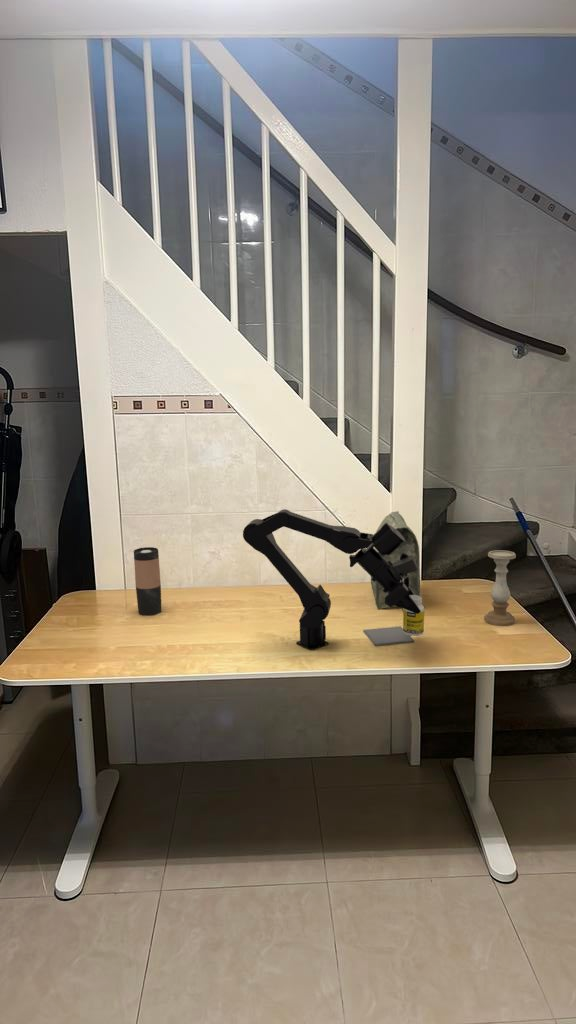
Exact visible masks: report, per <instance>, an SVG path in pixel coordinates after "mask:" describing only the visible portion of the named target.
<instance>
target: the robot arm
mask: <svg viewBox="0 0 576 1024" xmlns="http://www.w3.org/2000/svg"><path fill="white" fill-rule="evenodd" d="M281 528H286V529H290V530H293V531H296V532H299V533H301V534H305V535H307V536H310V537H313V538H317V539H319V540H323V541H325V542H327V543H329V545H331V546H332V547H333V548H335V549H337V550H338V551H341V552H342V553H345V554H347V555H348V554H349V556H348V558H349V567H350V568H353V567H354V566H355V565H356V564H358V565H359V566H360V567H361V568H362V569H363V570H364V571H365V572H366V573H367V574H368V575H369V576H370V578H371V577H372V580H373V581H374V582H375V581H376V582H377V583H378V584H379V585H380V586H381V587H382V588H383V591H384V592H385V603H386V604H387V605H388V606H389V607H388V608H393V607H392V606H394V605H395V606H394V607H398V608H401V609H406V610H409V611H411V612H414V613H417V614H418V613H420V612H421V610H420V609H419V608H418V606H417V605H416V603H415V602H414V601H413V599H412V598H411V596H410V595H414V593H413V591H412V590H411V588H410V586H409V576H408V577H407V578H406V579H405V580H404V579H403V578H402V577H403V576H404V575H405V576H407V575H408V573H410V572H414V571H416V570H418V568H417V567H418V566H417V564H416V561H415V559H414V557H413V555H410V556H409V555H408V554H407V553H405V552H404V553H402V554H400V560H397V562H395V563H392V562H391V561H390V560H389V561H388V560H387V561H386V560H385V559H384V558H383V557H382V556H381V555H380V554H379V553H378V552H377V551H376V550H375V549H374V548H373V547H375V548H376V549H377V550H378V551H379V552H380V553H381V554H382V555H386V554H387V555H390V554H391V553H392V552H393V551H395V550H396V549H397V548H398V547H399V546H400V545H401V544H402V543H403V542H404V541H405V539H404V537H403V536H402V535H401V534H400V532H399V531H398V530H397V529H394V528H393V527H392V526H391V525H389V524H388V523H387V522H385V523H384V524H383V525H382V527H381V528H380V529H379V530H378V531H377V530H376V531H377V532H376V531H375V533H373V534H372V533H368V532H360V530H359V529H357V528H355V527H350V526H346V525H345V526H344V525H332V524H328V523H324V522H321V521H319V520H317V519H314V518H310V517H306V516H304V515H301V514H298V513H295V512H292V511H290V510H289V509H285V508H284V509H281V510H279V511H278V512H276V513H273V514H271V515H268V516H266V517H264V518H263V519H262V518H261V519H260V518H255V519H253V520H251V521H250V522H249V523H247V525H246V526H245V527H244V528H243V530H242V538H243V540H244V541H245V543H247V544H248V545H249V546H250V547H252V549H254V550H255V551H257V552H259V553H261V554H262V555H264V556H265V557H266V558H267V560H268V561H269V562H270V564H271V565H272V566H273V567H274V568H275V569H276V571H278V573H279V574H280V575H281V577H282V578H283V579H284V580H285V581H286V582H287V583H288V585H289V586H290V587H291V588H292V589H293V591H294V592H295V593H296V594H297V596H298V597H299V599H300V602H301V605H302V608H303V610H302V613H301V615H300V618H299V621H298V622H299V640H298V641H296V644H297V645H299V646H301V647H302V648H305V649H307V650H310V651H311V650H313V651H314V650H316V649H319V648H322V647H324V646H327V645H330V643H329V641H326V639H327V636H326V635H327V634H326V625H325V619H327V617H328V615H329V614H330V610H331V607H332V602H331V598H330V593H327V592H326V591H325V589H324V587H323V586H322V584H318V585H317V587H316V586H315V585H313V584H311V583H310V581H308V579H307V578H306V577H305V576H304V575H303V573H302V572H301V571H300V570H299V568H298V567H297V566H296V565H295V564H294V563H293V561H292V560H291V559H290V558H289V557H288V555H287V554H286V553H285V551H283V549H282V548H281V547H280V546H279V545H278V543H277V541H276V538H275V535H274V532H276V531H277V530H279V529H281ZM388 590H389V591H388ZM387 591H388V592H387Z"/></svg>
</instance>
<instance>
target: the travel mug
mask: <svg viewBox="0 0 576 1024" xmlns="http://www.w3.org/2000/svg"><path fill="white" fill-rule="evenodd" d="M159 556H160V555H159V548H157V547H154V546H153V547H152V546H151V547H150V546H148V547H147V546H146V547H139V548H135V549H134V550H133V561H134V562H133V563H134V577H135V578H134V580H135V592H136V600H137V601H136V603H137V610H138V614H139V615H141V616H144V617H145V616H146V617H147V616H155V615H158V614H160V613H162V585H161V584H162V583H161V570H160V569H161V568H160V558H159Z"/></svg>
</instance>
